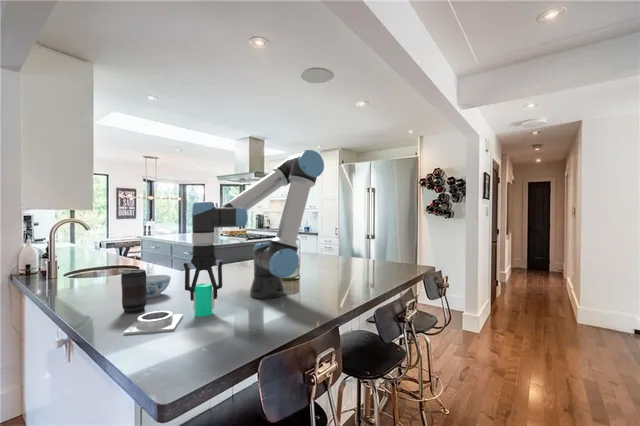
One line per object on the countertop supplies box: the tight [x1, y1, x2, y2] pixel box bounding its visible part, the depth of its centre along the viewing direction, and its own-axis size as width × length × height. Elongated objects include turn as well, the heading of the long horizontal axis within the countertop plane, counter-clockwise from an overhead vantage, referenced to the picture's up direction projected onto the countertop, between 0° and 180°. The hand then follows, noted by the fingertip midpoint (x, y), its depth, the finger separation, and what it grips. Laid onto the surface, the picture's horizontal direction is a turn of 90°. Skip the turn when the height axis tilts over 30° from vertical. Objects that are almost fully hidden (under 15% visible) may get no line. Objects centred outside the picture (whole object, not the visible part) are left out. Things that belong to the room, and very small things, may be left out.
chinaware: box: [146, 274, 172, 299], centre depth 140 cm, size 15×15×8 cm
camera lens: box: [120, 268, 147, 315], centre depth 118 cm, size 8×8×15 cm
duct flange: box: [122, 310, 184, 336], centre depth 103 cm, size 14×14×3 cm
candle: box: [194, 283, 213, 318], centre depth 114 cm, size 6×6×12 cm
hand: (204, 308), depth 114 cm, fingers closed on candle, 5 cm apart
